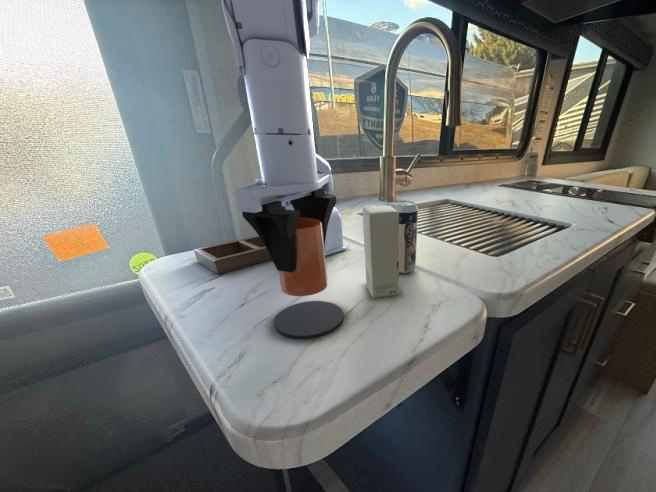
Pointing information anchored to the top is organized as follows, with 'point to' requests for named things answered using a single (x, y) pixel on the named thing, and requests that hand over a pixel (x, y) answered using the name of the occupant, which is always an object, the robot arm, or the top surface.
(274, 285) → the top surface
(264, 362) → the top surface
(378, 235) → the box
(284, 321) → the coaster
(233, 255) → the cup holder
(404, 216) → the beer can
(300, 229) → the cup
